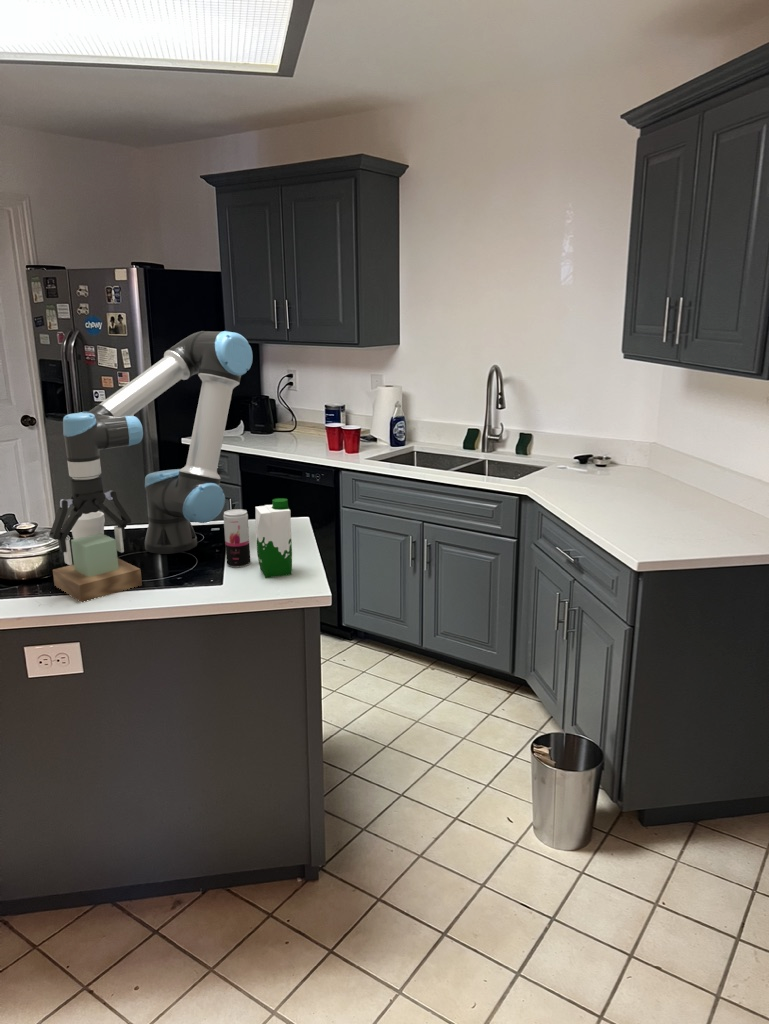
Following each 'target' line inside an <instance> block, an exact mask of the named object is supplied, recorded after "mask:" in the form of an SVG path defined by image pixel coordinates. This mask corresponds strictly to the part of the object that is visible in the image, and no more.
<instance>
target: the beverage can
mask: <svg viewBox="0 0 769 1024" xmlns="http://www.w3.org/2000/svg"><path fill="white" fill-rule="evenodd" d="M222 517H223V528H224V542H225V543H224V546H225V558H226V559H225V560H226V565H227V566H229V567H230V568H231V567H232V568H244V567H247V566H249V565H250V564H251V548H250V530H249V528H250V526H249V514H248V511H247V509H242V508H240V509H238V508H237V509H236V508H235V509H229V510H226V511H223V516H222Z"/></svg>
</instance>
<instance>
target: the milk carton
mask: <svg viewBox="0 0 769 1024" xmlns="http://www.w3.org/2000/svg"><path fill="white" fill-rule="evenodd" d="M271 502H272V504H264V505H259V506H255V507H254V508H255V510H254V511H255V536H256V551H257V552H256V554H257V560H258V565H259V570H260V572H261V573H262V575H263V576H264V578H265V579H268V578H276V577H277V578H278V577H283V576H291V575H293V546H292V545H293V543H292V521H291V519H292V518H291V513H292V512H291V509H290V507H289V500H288V498H284V497H277V498H273V499H272V500H271Z"/></svg>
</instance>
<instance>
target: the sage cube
mask: <svg viewBox="0 0 769 1024" xmlns="http://www.w3.org/2000/svg"><path fill="white" fill-rule="evenodd" d="M70 546H71V554H72V562H73V565H74V569H75V570H76V571H78V572H80V573H82V574H83V575H85V576H87V577H91V576H95V575H99V574H103V573H107V572H110V571H114V570H118V569H119V567H118V558H119V557H118V551H117V549H116V540H115V538H114V537H110V536H109V535H107V534H105V533H104V534H102V533H100V534H95V535H91V536H86V537H82V538H78V539H70Z"/></svg>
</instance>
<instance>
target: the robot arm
mask: <svg viewBox="0 0 769 1024" xmlns="http://www.w3.org/2000/svg"><path fill="white" fill-rule="evenodd" d="M253 357H254V356H253V350H252V347H251V345H250V344H249V341H248V340H247V338H246V337H244V336H243V335H242V334H240V333H238V332H234V331H233V332H232V331H228V330H224V331H209V330H206V331H205V330H201V331H197V332H194V333H192V334H190V335H188V336H187V337H185V338H183V339H181V340H180V341H179V342H177V343H176V344H175V345H173V346H171V347H170V348H168V349H167V350H166V351H164V354H163V357H162V358H161V359H160V360H158V361H157V362H156V363H154V364H153V365H151V366H150V367H148V368H147V369H146V370H144V371H143V372H142V373H140V374H139V375H138V376H136V377H135V378H134V379H132V380H131V381H129V382H128V383H127V384H125V385H124V386H122V387H121V388H120V389H118V390H116V391H115V392H114V393H112V394H111V395H109V396H108V397H107V398H106V399H105V400H103V401H101V403H99V404H98V405H96V406H95V407H93V408H92V409H90V410H88V411H82V412H80V411H79V412H76V413H75V412H74V413H69V414H66V415H64V416H63V418H62V429H63V430H62V431H63V433H62V435H63V437H64V438H63V439H64V444H65V453H66V459H67V460H66V462H67V470H68V476H69V477H70V478H69V487H70V492H71V498H67V499H64V498H60V499H59V500H58V509H57V512H56V515H55V518H54V520H53V523H52V526H51V530H50V532H49V535H48V536H49V538H51V539H53V540H57V541H58V549H59V551H60V552H61V553H63V558H64V564H67V566H70V565H73V557H72V549H71V541H70V539H69V538H68V535H70V533H71V532H72V531H71V530H72V528H73V526H74V525H75V523H76V522H77V520H78V519H79V517H81V516H82V514H89V513H91V512H97V511H99V512H103V513H104V516H106V517H107V518H109V519H110V520H111V521H112V522H113V523H114V524H115V525H116V526H113V530H114V531H113V532H114V539H115V540H116V549H117V552H119V553H121V554H122V553H124V552H125V549H124V548H125V547H124V539H126V529H125V528H126V527H127V525H128V524H131V523H132V519H131V518H130V516H129V514H128V513H127V512H126V510H125V508H124V507H123V505H122V504H121V502H120V501H119V499H118V495H117V492H116V491H114V490H111V489H108V490H107V491H105V492H104V485H103V483H104V482H103V476H102V475H101V474H102V467H101V458H100V456H101V455H100V451H102V450H103V451H105V450H109V449H115V448H122V447H123V448H124V447H130V446H134V445H138V444H139V443H141V442H142V440H143V438H144V429H143V425H142V423H141V420H140V419H139V418H138V417H137V416H134V415H135V414H136V413H138V412H139V411H140V410H142V409H143V408H145V407H146V406H148V404H150V403H151V402H152V401H154V400H155V399H157V398H158V397H159V396H160V395H162V394H164V392H167V390H168V389H170V388H171V387H173V386H174V385H176V383H178V382H180V381H181V380H183V381H185V380H188V379H189V378H191V377H192V376H194V375H198V377H199V379H200V381H201V387H200V392H199V398H198V402H197V403H198V404H197V408H196V413H195V418H194V423H193V429H192V434H191V437H190V438H191V439H190V443H189V448H188V449H189V450H188V454H187V458H186V464H185V465H184V467H182V468H177V469H176V468H175V469H166V470H165V469H164V470H160V471H158V470H157V471H154V472H150V473H148V474H146V476H145V478H144V488H145V489H144V490H145V497H146V508H147V509H146V510H147V517H148V526H147V529H146V535H145V539H144V550H145V551H146V552H149V553H151V554H158V555H159V554H160V555H163V554H164V555H167V554H168V555H169V554H177V553H183V552H187V551H190V550H192V549H194V548H195V547H197V545H198V537H197V535H196V532H195V530H194V527H193V525H192V523H197V524H198V523H199V524H205V523H209V522H212V521H213V520H214V519H216V518H217V517H218V516H219V515H220V514H221V513H222V511H223V509H224V507H225V502H226V496H225V493H224V490H223V489H222V487H221V486H220V485H221V476H220V475H219V474H218V466H219V461H220V457H221V451H222V450H221V449H222V446H223V442H224V436H225V431H226V426H227V421H228V414H229V409H230V405H231V401H232V396H233V395H232V394H233V390H234V389H235V388H236V387H237V386H239V385H240V382H241V378H242V376H243V375H245V374H246V373H247V371H249V370H250V369H251V366H252V364H253ZM106 499H107V500H109V502H110V504H111V505H112V506H113V508H114V510H115V511H116V513H117V515H118V516H119V517H118V516H117V515H116V514H115V513H114V512H113V511H111V510H110V509H109V508H108V506H106V505H105V504H104V502H105V500H106ZM71 505H72V506H73V508H72V509H71V512H70V513H69V515H68V517H67V519H66V516H67V514H68V509H69V508H70V506H71ZM65 519H66V521H65ZM191 522H192V523H191Z"/></svg>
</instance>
